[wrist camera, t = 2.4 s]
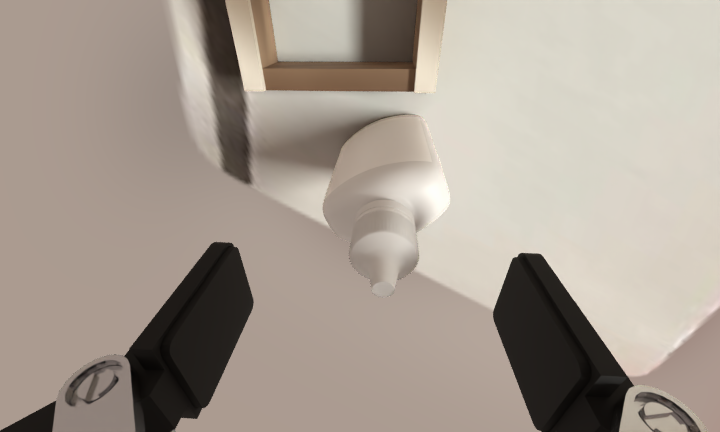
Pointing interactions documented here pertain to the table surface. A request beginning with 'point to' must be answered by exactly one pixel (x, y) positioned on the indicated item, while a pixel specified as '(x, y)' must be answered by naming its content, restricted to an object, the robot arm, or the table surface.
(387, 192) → the eye dropper bottle
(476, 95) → the table surface
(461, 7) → the table surface
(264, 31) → the walnut collar
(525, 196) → the table surface
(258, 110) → the table surface
